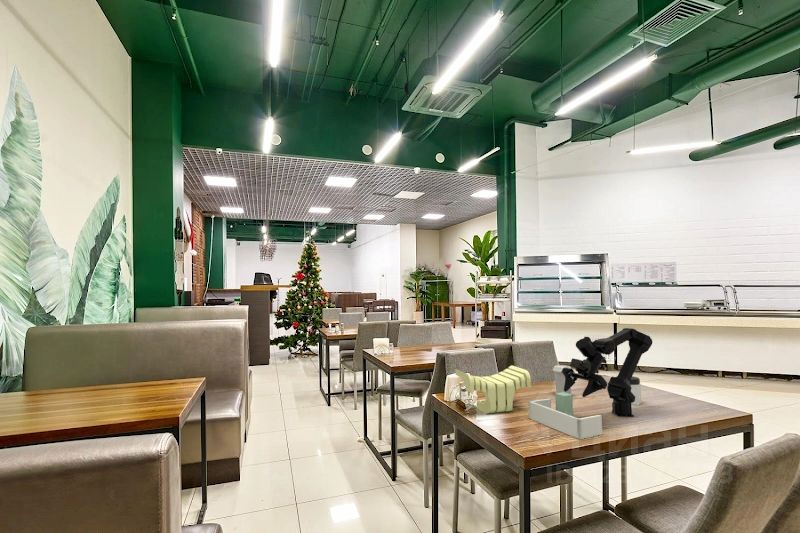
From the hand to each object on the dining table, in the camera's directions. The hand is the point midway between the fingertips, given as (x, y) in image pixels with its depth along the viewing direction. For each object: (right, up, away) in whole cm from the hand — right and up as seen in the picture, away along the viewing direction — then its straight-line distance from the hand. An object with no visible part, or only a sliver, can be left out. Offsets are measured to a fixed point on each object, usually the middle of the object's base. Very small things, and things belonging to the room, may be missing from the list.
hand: (573, 393), depth 155 cm
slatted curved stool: (-28, -14, +20) cm, 37 cm away
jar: (+41, -14, +28) cm, 52 cm away
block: (-5, -12, -3) cm, 13 cm away
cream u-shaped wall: (-5, -12, -3) cm, 13 cm away
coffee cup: (+14, -15, +41) cm, 46 cm away
